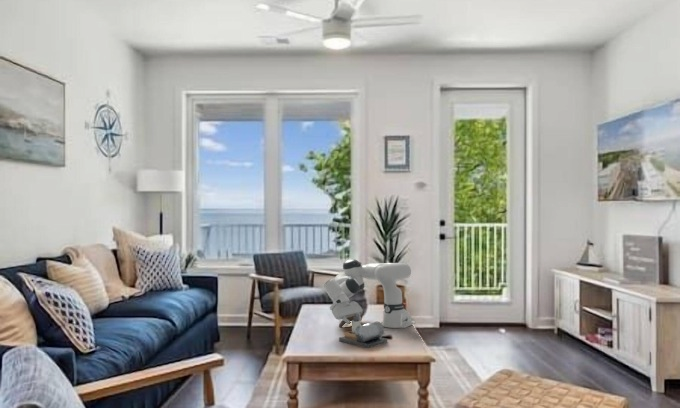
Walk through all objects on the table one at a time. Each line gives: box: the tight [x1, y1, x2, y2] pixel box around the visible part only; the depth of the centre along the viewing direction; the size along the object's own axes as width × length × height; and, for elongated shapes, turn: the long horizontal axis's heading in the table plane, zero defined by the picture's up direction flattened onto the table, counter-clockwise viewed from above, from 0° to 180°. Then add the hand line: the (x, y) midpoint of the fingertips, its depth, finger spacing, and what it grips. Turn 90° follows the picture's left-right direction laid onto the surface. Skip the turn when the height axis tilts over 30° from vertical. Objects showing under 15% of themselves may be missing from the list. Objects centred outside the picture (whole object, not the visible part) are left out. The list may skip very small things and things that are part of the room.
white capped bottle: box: [351, 316, 362, 334], centre depth 329 cm, size 5×5×11 cm
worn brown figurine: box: [338, 299, 357, 328], centre depth 364 cm, size 12×6×18 cm, turn 100°
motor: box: [338, 321, 388, 349], centre depth 327 cm, size 18×22×11 cm
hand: (354, 322), depth 330 cm, fingers open, 8 cm apart
